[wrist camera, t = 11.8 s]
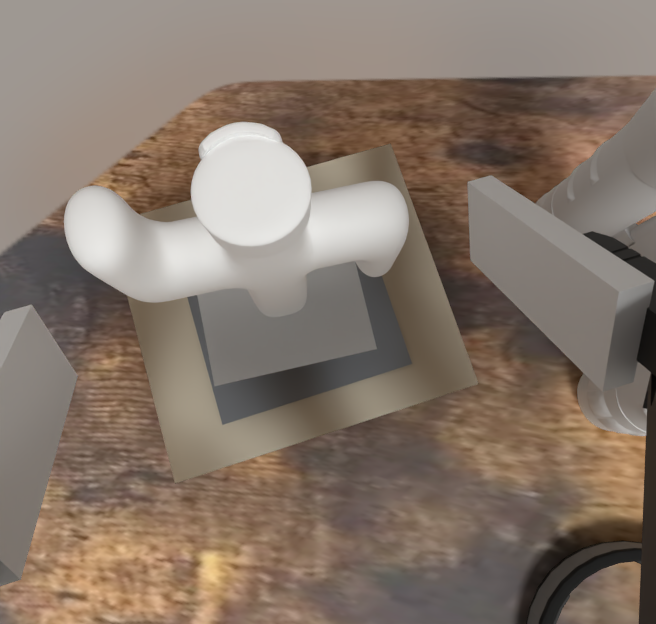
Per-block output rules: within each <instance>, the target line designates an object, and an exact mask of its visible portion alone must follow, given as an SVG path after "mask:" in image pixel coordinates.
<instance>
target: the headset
mask: <svg viewBox="0 0 656 624" xmlns="http://www.w3.org/2000/svg"><path fill="white" fill-rule="evenodd" d="M641 555H642V543H640V542H631V541H613V542H602V543H598V544H595V545H592V546H589V547H585V548H582V549H580V550H579V551H577V552H575V553H573V554H571V555H570V556H568V557H566V558H564V559H563V560H562V561H561V562H560V563H559V564H558V565H557V566H555V567H554V568H553V569H552V570H551V571H550V572H549V573H548V575H547V576H546V577H545V579H544V580H543V582H542V583H541V584H540V586H539V587H538V589H537V591H536V593H535V596H534V598H533V601H532V603H531V606H530V608H529V613H528V618H527V623H526V624H556V623H557V620H558V618H559V615H560V613H561V610H562V608H563V607H564V605H565V604H566V602H567V601H568V599H569V597H570V595H569V594H570V593H571V592H572V591H573V590H574V589H575V588H576V587H577V586H578V585H579V584H580V583H581V582H582V581H583V580H584V579H586V578H587V577H589V576H591V575H592V574H594V573H596V572H597V571H599V570H601V569H603V568H606V567H609V566H612V565H615V564H618V563H624V562H633V561H635V562H637V563H640V564H641Z"/></svg>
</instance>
